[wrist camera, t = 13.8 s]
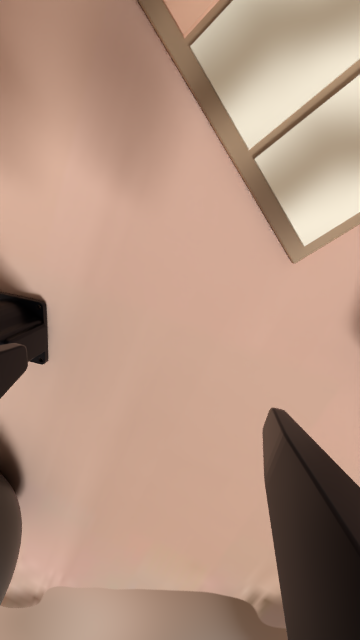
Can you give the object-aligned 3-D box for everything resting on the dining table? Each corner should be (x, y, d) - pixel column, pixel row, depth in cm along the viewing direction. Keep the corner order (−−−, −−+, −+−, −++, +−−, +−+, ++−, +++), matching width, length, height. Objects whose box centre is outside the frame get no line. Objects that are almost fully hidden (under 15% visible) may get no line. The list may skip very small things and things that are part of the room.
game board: (475, 151, 14) (491, 145, 13) (292, 262, 17) (295, 264, 17) (281, -331, 10) (286, -382, 9) (100, -63, 14) (92, -83, 13)
